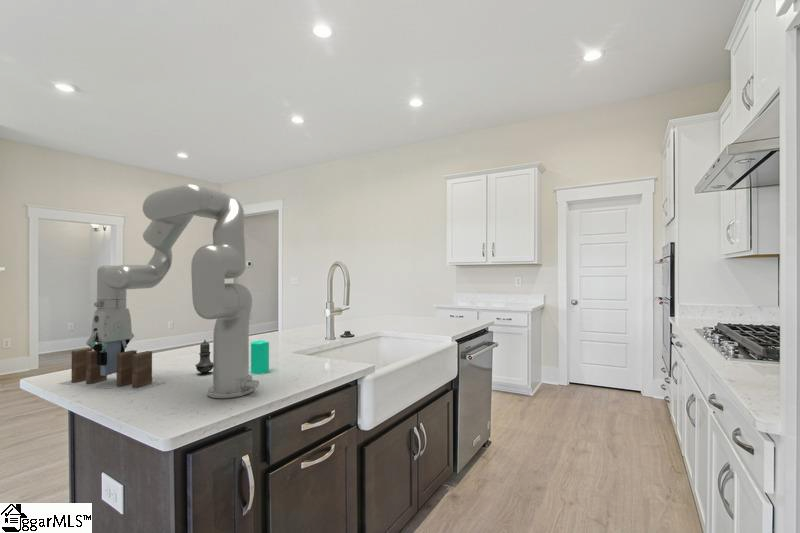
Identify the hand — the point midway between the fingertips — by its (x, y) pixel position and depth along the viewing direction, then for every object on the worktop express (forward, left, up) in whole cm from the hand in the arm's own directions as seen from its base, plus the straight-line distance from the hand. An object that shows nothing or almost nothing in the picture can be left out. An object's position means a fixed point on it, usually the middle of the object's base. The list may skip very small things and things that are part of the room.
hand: (111, 362), depth 125 cm
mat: (0, 0, -7) cm, 7 cm away
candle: (-36, -25, -7) cm, 45 cm away
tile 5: (+12, 0, -6) cm, 13 cm away
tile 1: (-12, 0, -6) cm, 14 cm away
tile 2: (-6, 0, -6) cm, 9 cm away
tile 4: (+6, 0, -6) cm, 9 cm away
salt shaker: (-20, -17, -7) cm, 27 cm away
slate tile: (0, 0, -3) cm, 3 cm away
